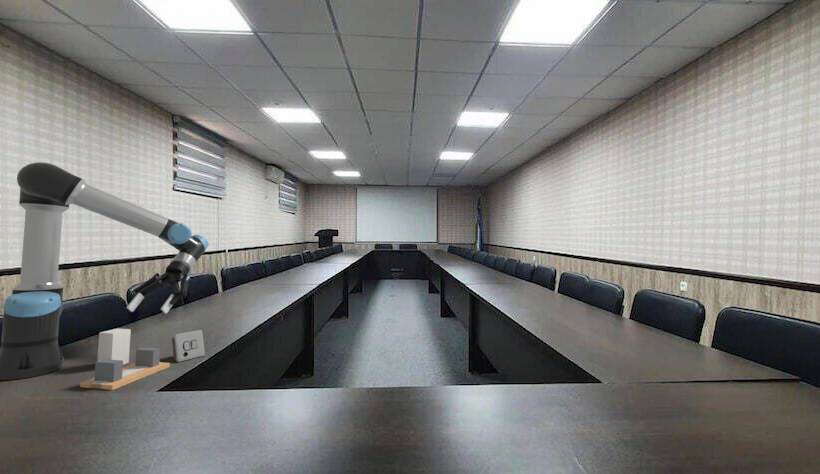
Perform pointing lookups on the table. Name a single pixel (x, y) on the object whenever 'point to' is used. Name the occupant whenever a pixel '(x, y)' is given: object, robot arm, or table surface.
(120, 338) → the block
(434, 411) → the table surface
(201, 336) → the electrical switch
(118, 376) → the board
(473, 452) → the table surface
